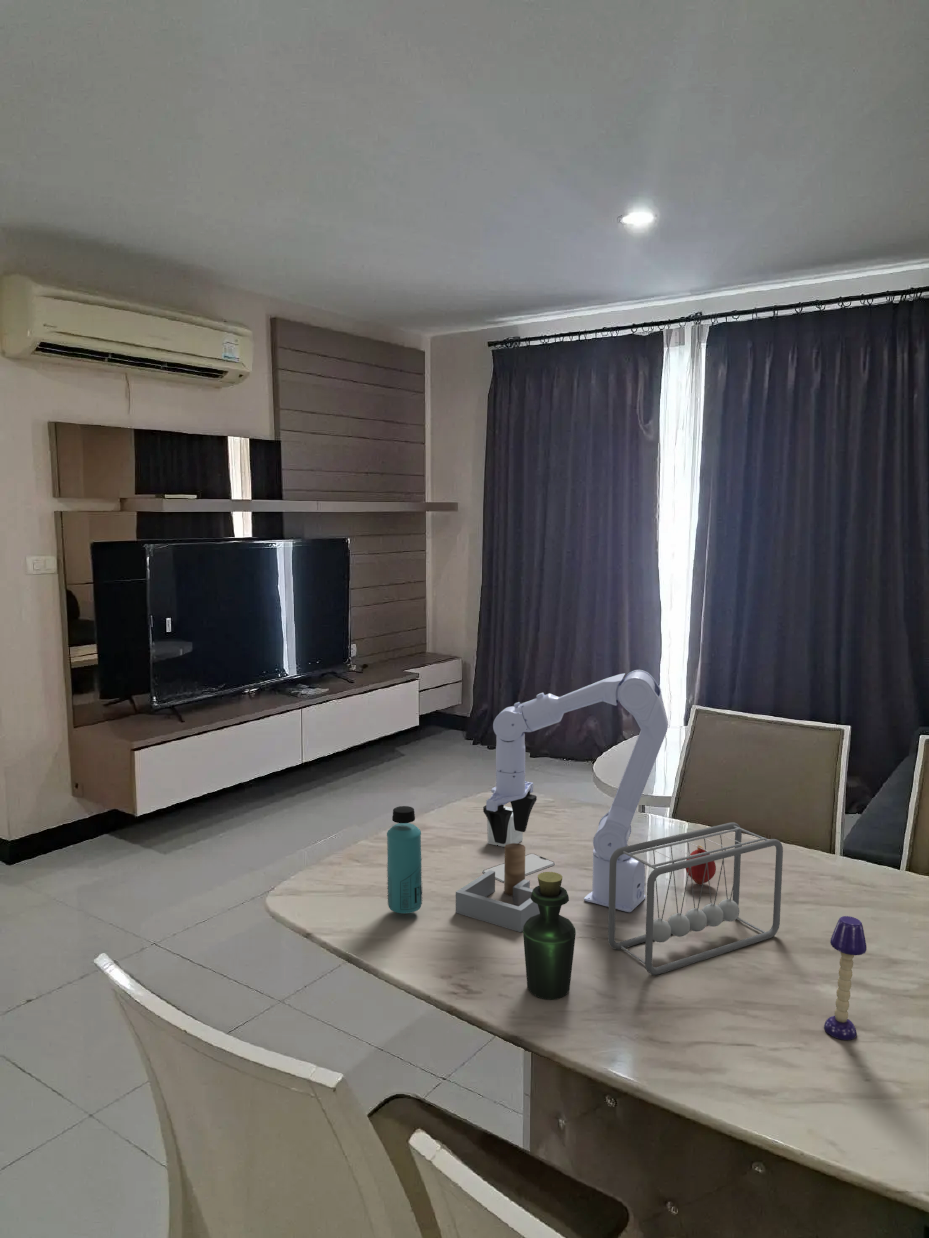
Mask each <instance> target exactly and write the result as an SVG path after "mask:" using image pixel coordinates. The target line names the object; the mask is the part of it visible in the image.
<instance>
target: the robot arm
mask: <svg viewBox="0 0 929 1238" xmlns="http://www.w3.org/2000/svg"><path fill="white" fill-rule="evenodd" d="M601 702H604V703H607V704H609V705H612V706H616V707H617V706H618V703H620V705H621V706H622V708H624V709H625V710H626V711H627V712H629V714H630V715H632V716H633V718H634V719H635V721H636V724H637V725H638V727H639V729H640V731H639V734H638V736H637V739H636V742H635V744H634V746H633V749H632V752H631V754H630V757H629V759H628V761H627V764H626V767H625V769H624V772H623V775H622V777H621V780H620V783H619V785H618V788H617V790H616V794H615V795H614V797H613V801H612V803H611V805H610V808H609V810H608V811H607V813H606V814H604V815H603V816H602V817H601V818H600V820H599V822H598V827H597V830H596V833H595V834H594V836H593V840H592V845H593V849H592V886H591V887H592V889H591V890H592V891H591V892H589V893H587V895H585V897H583V900H584V901H585V902H589V903H592V904H597V905H598V906H599V905H600V906H604V907H606V908H609V867H610V858H611V856H612V854H613V853H614V851H615V850H617V849H619V848H621V847H625V846H629V845H628V843H629V839H630V837H631V833H632V821H633V818H634V816H635V813H636V811H637V808H638V806H639V803H640V800H641V798H642V795H643V793H644V791H645V788H646V784H647V782H648V780H649V777H650V775H651V773H652V770H653V767H654V765H655V763H656V760H657V757H658V755H659V753H660V750H661V747H662V745H663V742H664V739H665V737H666V734H667V733H668V732H667V731H668V728H669V720H668V717H667V713H666V708H665V704H664V700H663V695H662V689H661V687H660V686H659V684H658V682H657V681H656V679H655V678H654V677H653V676H652V675H651V674H650V673H649V672H648V671H645V670H642V669H634V670H632V671H630V672H629V673H619V674H616V675H613V676H610V677H606V678H604V679H601V680H598V681H596V682H594V683H592V684H588V685H586V686H582V687H581V688H579V689H576V690H573V691H571V692H568V693H565V694H564V695H560V696H557V695H555V694H552V693H547V694H545V693H544V692H540V693H538V694H536V697H535V698H533V699H531V700H528V701H525V702H520V701H518V702H515V703H514V704H513V705H512V706H507V707H505V708H504V709H502V710H501V711H500V712H499V713H498V714H497V715H496V717H495V718H494V720H493V724H492V728H493V732H494V734H495V736H496V744H495V745H496V746H495V786H494V787H492V788H491V791H490V792H491V793H492V794H491V796H490V797H489V798H487V800H485V803H486V805H484V806H483V809H482V812H483V813H484V814H485V816H486V819H487V818H488V821H489V823H490V825H491V829H492V832H493V836H494V840H495V842H496V843H500V844H505V843H506V839H507V830H508V823H509V820H510V817H511V814H512V812H513V819H514V828H515V830H516V831H520V832H523V833H526V831H527V827H528V824H529V819H530V816H531V813H532V809H533V807H534V805H535V803H536V802H537V800H538V798H537V797H538V796H537V795H536V794H532V793H533V792H534V782H530V781H526V744H525V743H526V741H525V740H526V739H525V738H526V734H525V733H532V732H535V731H538V730H541V729H545V728H547V727H549V726H552V725H556V724H558V723H561V721H562V719H563V717H564V714H566V713H568V712H572V711H575V710H578V709H582V708H584V707H585V708H586V707H587V706H588V707H589V706H591V705H595V704H597V703H601ZM508 803H510V806H511V808H512V810H513V811H510V810H505V808H504V806H505V805H506V804H508ZM630 853H632V852H630ZM645 866H646V865H645V864H643V863H641V862H639V861H637V860H636V859H634V858H632V857H630V856H628V855H626V854H622V855H620V856H619V858H618V859H617V863H616V902H615V910H619V911H622V912H626V913H631V912H632V911H633V910H634V909H636V908H637V906H639V905H640V904H641V903H642V902H643V901H644V900H646V899H647V895H646V894H645V885H646V884H645V881H646V879H645V878H646V877H645V875H646V868H645Z"/></svg>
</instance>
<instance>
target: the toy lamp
mask: <svg viewBox="0 0 929 1238" xmlns="http://www.w3.org/2000/svg"><path fill="white" fill-rule="evenodd" d="M829 942H830V946H831V947H832V948H833V949H834V950H836V951H837V952H840V956H841V957H840V958H839V969H838V979H837V989H836V997H837V998H836V1001H835V1010H834V1015H832V1016H829V1017H828V1018H827V1019H826V1021H825V1022H824V1025H823V1029H824V1031H825V1032H826V1034H829V1035H830V1036H831V1037H834V1038H835V1039H838V1040H842V1041H851V1040H854V1039H856V1037H857V1028H856V1025H854V1023H853V1022H852V1021H851V1020H850V1019H849V1011H848V1010H849V1008H850V1001H849V1000H850V999H851V989H852V978H853V971H852V970H853V968H854V960H853V959H854V958H855V956H862V955H864V954H866V952H867V950H868V949H867V942H866V936H865V930H864V925H863V922H862V921H861V920H860V919H859V918H856V917H854V916H850V915H849V916H848V915H843V916H840V917H839V918H838V920H837V923H836V925H835V927H834V929H833V932H832V935H831V938H830V940H829Z"/></svg>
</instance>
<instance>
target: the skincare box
mask: <svg viewBox="0 0 929 1238" xmlns="http://www.w3.org/2000/svg"><path fill="white" fill-rule="evenodd" d="M504 808H505V810H510V811H513V810H512V806H511V807H510V806H505V805H504ZM486 822H487V824H486V825H487V844H488V845H493V846H497V845H498V847H502V848H505V845H507V844H512V843H517V844H520V843H521V842H522V841H523V837H524V836H523V835H524V832H520V831H516V830H515V828H514V819H513V812H512V814H511V817H510V820H509V823H508V830H507V839H506V843H505V844H500V843H496V842H495V840H494V836H493V832H492V829H491V825H490V823H489V821H488V818H487V817H486Z"/></svg>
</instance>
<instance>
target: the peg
mask: <svg viewBox="0 0 929 1238" xmlns="http://www.w3.org/2000/svg"><path fill="white" fill-rule="evenodd" d="M525 855H526V846H525V845H524V844H521V843H518V844H517V843H512V844H507V845H505V847H504V863H505V867H504V882H503V883H504V885H503V886H504V887H503V890H504V891H503V892H504V894H505V895H507V896H509V897H510V896H511V897H513V887H514V886H515V885H517V884H518V883H520V882H521V881H522V880H524V879H525V880H526V876H525Z"/></svg>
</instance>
